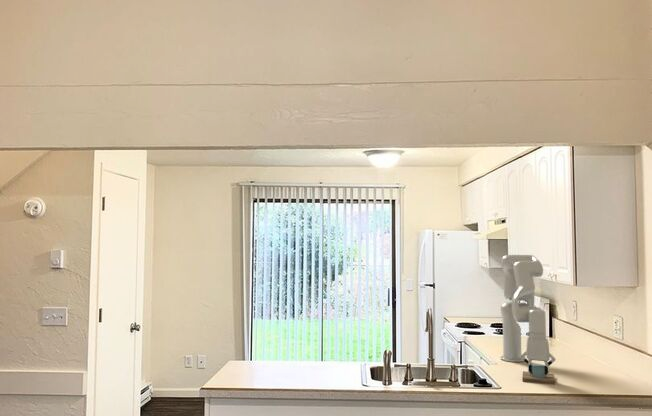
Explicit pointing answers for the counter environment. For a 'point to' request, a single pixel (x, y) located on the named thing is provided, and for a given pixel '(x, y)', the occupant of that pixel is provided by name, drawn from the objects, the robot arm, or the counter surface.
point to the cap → (538, 370)
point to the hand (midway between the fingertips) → (538, 373)
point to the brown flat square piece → (529, 378)
